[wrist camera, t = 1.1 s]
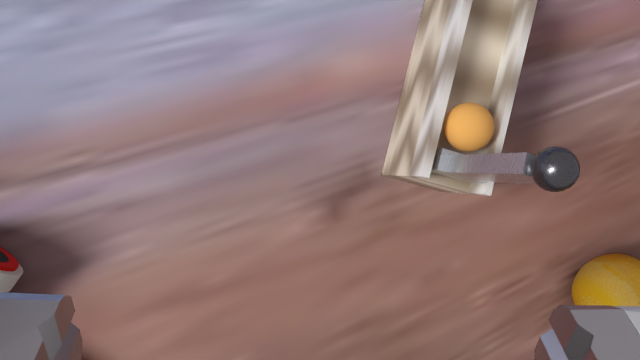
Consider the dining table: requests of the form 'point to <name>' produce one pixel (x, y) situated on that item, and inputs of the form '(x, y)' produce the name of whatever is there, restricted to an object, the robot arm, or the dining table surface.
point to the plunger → (511, 167)
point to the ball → (468, 126)
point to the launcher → (457, 83)
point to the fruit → (608, 281)
